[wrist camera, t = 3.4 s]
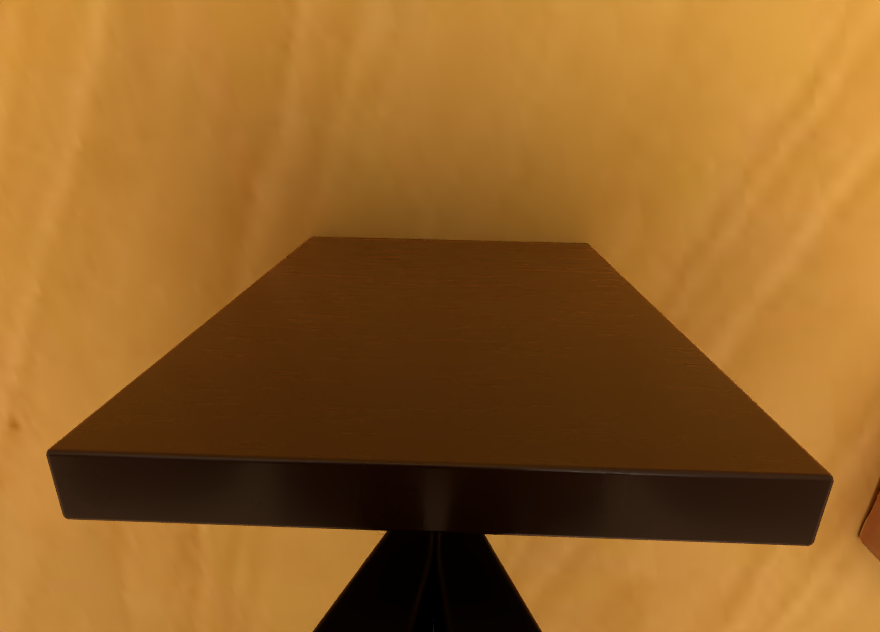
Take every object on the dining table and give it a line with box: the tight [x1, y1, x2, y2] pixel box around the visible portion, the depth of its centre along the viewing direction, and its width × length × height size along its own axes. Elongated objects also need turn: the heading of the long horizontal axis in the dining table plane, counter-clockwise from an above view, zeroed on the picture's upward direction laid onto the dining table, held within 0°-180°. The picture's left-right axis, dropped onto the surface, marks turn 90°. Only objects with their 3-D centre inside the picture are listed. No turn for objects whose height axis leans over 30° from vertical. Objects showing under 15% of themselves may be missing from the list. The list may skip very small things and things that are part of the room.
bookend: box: [46, 237, 834, 546], centre depth 14 cm, size 11×9×12 cm
